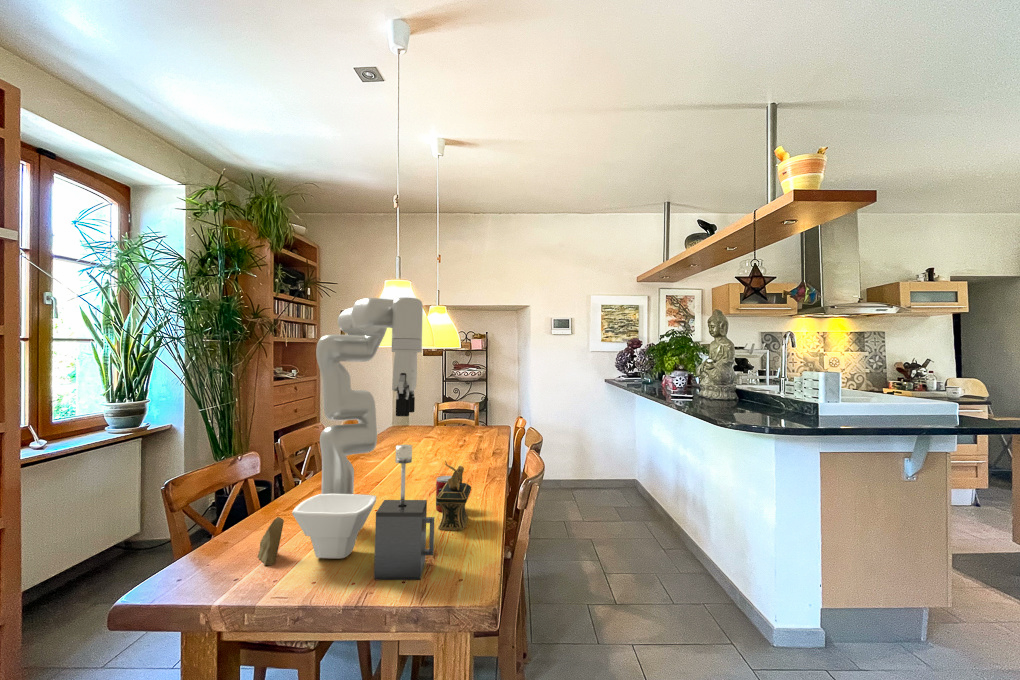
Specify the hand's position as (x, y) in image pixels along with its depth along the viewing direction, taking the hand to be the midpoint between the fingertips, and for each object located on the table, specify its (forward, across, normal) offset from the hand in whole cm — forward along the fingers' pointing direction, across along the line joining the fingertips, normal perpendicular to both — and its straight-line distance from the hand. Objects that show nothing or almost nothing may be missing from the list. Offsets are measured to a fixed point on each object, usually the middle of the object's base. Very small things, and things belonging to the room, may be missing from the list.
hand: (405, 414), depth 130 cm
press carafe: (+39, 0, +1) cm, 39 cm away
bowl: (+39, -10, -19) cm, 45 cm away
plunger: (+29, 0, 0) cm, 29 cm away
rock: (+39, -8, -36) cm, 54 cm away
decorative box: (+39, -36, +11) cm, 54 cm away
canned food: (+39, -52, +8) cm, 66 cm away
